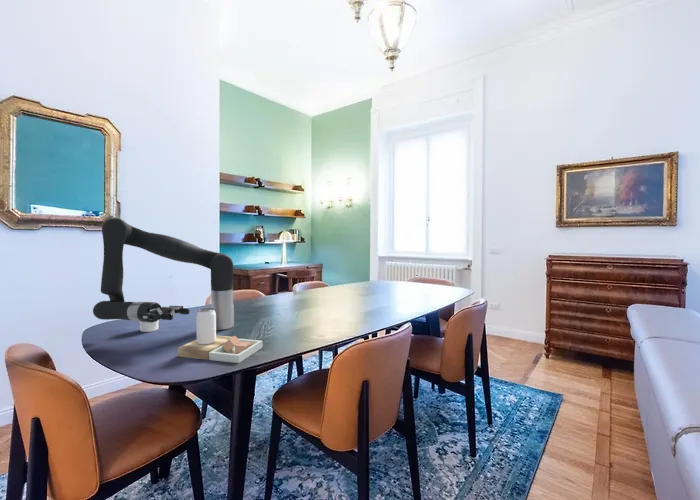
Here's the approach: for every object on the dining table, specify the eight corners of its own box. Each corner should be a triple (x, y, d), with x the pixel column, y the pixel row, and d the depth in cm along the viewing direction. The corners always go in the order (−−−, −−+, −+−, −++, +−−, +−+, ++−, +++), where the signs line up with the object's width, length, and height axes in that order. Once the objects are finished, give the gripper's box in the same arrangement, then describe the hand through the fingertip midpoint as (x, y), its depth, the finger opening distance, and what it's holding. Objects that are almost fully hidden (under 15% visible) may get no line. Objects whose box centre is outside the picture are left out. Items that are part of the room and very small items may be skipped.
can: (220, 340, 125) (219, 308, 124) (206, 346, 119) (206, 312, 118) (206, 338, 127) (205, 307, 127) (192, 343, 121) (192, 310, 121)
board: (207, 342, 133) (207, 334, 132) (235, 344, 130) (235, 337, 130) (177, 356, 117) (177, 347, 117) (208, 359, 114) (208, 351, 114)
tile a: (233, 348, 123) (228, 342, 124) (240, 341, 123) (235, 335, 123) (227, 352, 119) (221, 346, 120) (234, 345, 119) (228, 339, 119)
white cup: (150, 333, 144) (149, 309, 143) (134, 331, 145) (133, 308, 145) (163, 328, 152) (163, 306, 151) (148, 327, 153) (148, 305, 153)
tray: (235, 344, 130) (235, 338, 130) (262, 347, 127) (262, 340, 127) (209, 359, 114) (208, 352, 114) (238, 363, 112) (238, 355, 111)
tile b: (250, 342, 122) (250, 350, 122) (240, 341, 123) (240, 349, 123) (245, 346, 118) (245, 354, 118) (234, 345, 119) (234, 353, 119)
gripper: (127, 306, 122) (166, 308, 119) (158, 298, 136) (193, 300, 132) (128, 326, 123) (166, 329, 119) (159, 317, 137) (194, 319, 133)
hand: (180, 314), depth 126 cm, fingers open, 8 cm apart
